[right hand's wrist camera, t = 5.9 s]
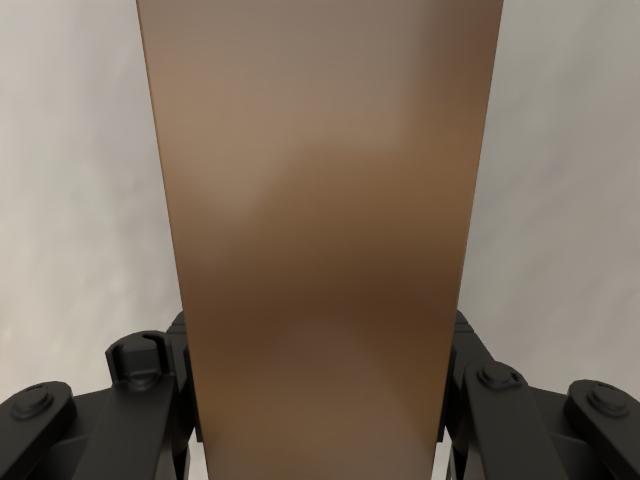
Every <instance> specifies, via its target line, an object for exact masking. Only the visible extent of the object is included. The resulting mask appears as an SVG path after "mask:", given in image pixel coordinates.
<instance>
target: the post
mask: <svg viewBox="0 0 640 480" xmlns="http://www.w3.org/2000/svg"><path fill="white" fill-rule="evenodd" d="M136 4H137V10H138V17H139V24H140V30H141V37H142V43H143V50H144V57H145V63H146V70H147V76H148V83H149V90H150V96H151V103H152V109H153V116H154V123H155V129H156V136H157V142H158V149H159V156H160V162H161V169H162V175H163V182H164V189H165V195H166V202H167V208H168V215H169V222H170V228H171V235H172V241H173V248H174V255H175V261H176V268H177V274H178V281H179V288H180V294H181V301H182V307H183V314H184V321H185V327H186V334H187V340H188V347H189V354H190V360H191V367H192V373H193V380H194V387H195V393H196V400H197V406H198V413H199V420H200V426H201V433H202V439H203V446H204V453H205V459H206V466H207V472H208V479H209V480H431V477H432V470H433V464H434V457H435V450H436V444H437V437H438V431H439V424H440V417H441V411H442V404H443V397H444V391H445V384H446V378H447V371H448V364H449V358H450V351H451V345H452V338H453V331H454V325H455V318H456V311H457V305H458V298H459V292H460V285H461V278H462V272H463V265H464V258H465V252H466V245H467V239H468V232H469V225H470V219H471V212H472V206H473V199H474V192H475V186H476V179H477V172H478V166H479V159H480V153H481V146H482V139H483V133H484V126H485V119H486V113H487V106H488V100H489V93H490V86H491V80H492V73H493V67H494V60H495V53H496V47H497V40H498V33H499V27H500V20H501V14H502V7H503V0H136Z"/></svg>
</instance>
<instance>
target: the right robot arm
mask: <svg viewBox="0 0 640 480" xmlns="http://www.w3.org/2000/svg"><path fill="white" fill-rule="evenodd" d="M105 355H106V359H107V363H108V367H109V371H110V375H111V379H112V383H113V384H112V386H111V388H108V389H104V390H101V391H96V392H92V393H87V394H83V395H78V396H74V397H73V393H72V390H71V387H70V386H69V385H67V384H66V383H64V382H58V381H52V382H44V383H40V384H36V385H33V386H30V387H28V388H26V389H24V390H22V391H20V392H18V393H16V394H14V395H12V396H11V397H10V398H8V399H7V400H6V401H4V402H3V403H2V404H1V405H0V480H188V475H189V467H190V450H189V444H188V442H189V439H190V437H191V434H192V432H193V429H194V427H195V431H196V437H197V442H203V439H202V433H201V426H200V420H199V413H198V406H197V400H196V393H195V387H194V380H193V373H192V367H191V360H190V354H189V347H188V340H187V334H186V327H185V321H184V314H183V311H182V312H180V313H179V314H178V315H177V317H176V318H175V320H174V321H173V323H172V326H170V327H169V328H168V330H167V331H166V333H164V332H160V331H156V330H155V331H142V332H137V333H133V334H130V335H128V336H125V337H123V338H121V339H119V340H118V341H116V342H115V343H113V344H112V345H111V346H110V347H109V348H108V349H107V351H106V352H105ZM445 425H446V428H447V430H448V433H449V435H450V438H451V441H452V444H451V450H450V456H449V462H448V468H447V474H446V480H451V476H452V480H640V403H639V402H638V401H637V400H636V399H634V398H633V397H631V396H630V395H629V394H627V393H626V392H624V391H622V390H620V389H618V388H616V387H614V386H612V385H609V384H605V383H603V382H599V381H594V380H585V379H584V380H578V381H574V382H573V383H572V384H571V385H570V386H569V389H568V392H567V395H564V394H560V393H555V392H551V391H546V390H542V389H538V388H534V387H531V386H528V383H527V382H526V380H525V379H524V378H523V376H522V375H521V374H520V373H519V372H517V371H516V370H515V369H513V368H512V367H510V366H508V365H506V364H503V363H501V362H498V361H495V360H494V359H493V357H492V356H491V355H490V353H489V352H488V350H487V349H486V347H485V346H484V344H483V343H482V342H481V340H480V339H479V337H478V336H477V334H476V333H474V330H473V329H472V327H471V326H470V325H468V321H467V320H466V319H465V317H464V316H463V314H462V313H461V312H460V311H458V310H457V311H456V318H455V325H454V331H453V338H452V345H451V351H450V358H449V364H448V371H447V378H446V384H445V391H444V397H443V404H442V411H441V417H440V424H439V431H438V437H437V442H443V436H444V430H445Z"/></svg>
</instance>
